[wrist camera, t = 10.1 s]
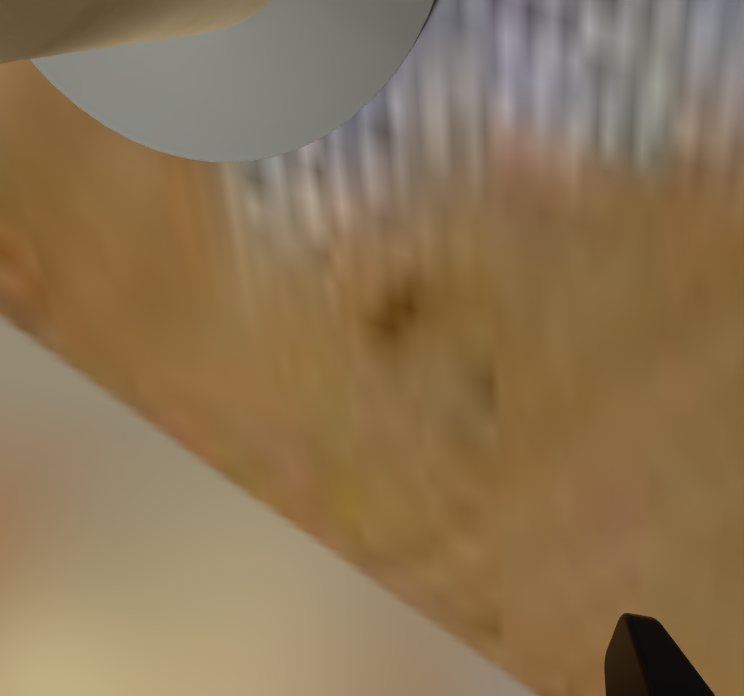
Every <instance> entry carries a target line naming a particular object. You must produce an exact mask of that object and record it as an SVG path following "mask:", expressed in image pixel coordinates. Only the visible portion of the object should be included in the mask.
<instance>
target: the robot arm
mask: <svg viewBox="0 0 744 696" xmlns="http://www.w3.org/2000/svg"><path fill="white" fill-rule="evenodd" d="M604 671H605V689H606V696H715V695H714V693H713V692H712V691H711V689H710V688H709V687H708V685H707V684H706V683H705V681H704V680H703V679H702V678H701V676H700V675H699V674H698V672H697V671H696V670H695V668H694V667H693V666H692V664H691V663H690V662H689V660H688V659H687V658H686V656H685V655H684V654H683V652H682V651H681V650H680V648H679V647H678V646H677V644H676V643H675V642H674V640H673V639H672V638H671V636H670V635H669V634H668V632H667V631H666V630H665V628H664V627H663V626H662V625H661V623H660V622H659V621H657V620H656V619H654V618H652V617H648V616H642V615H637V614H631V613H625V614H623V615H622V616H621V617H620V618H619V620H618V623H617V625H616V628H615V631H614V633H613V636H612V638H611V641H610V644H609V646H608V649H607V652H606V656H605V666H604Z"/></svg>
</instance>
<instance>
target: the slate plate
mask: <svg viewBox="0 0 744 696" xmlns="http://www.w3.org/2000/svg"><path fill="white" fill-rule="evenodd" d="M434 1H435V0H271V1H270V2H269V3H268V4H267V5H266V6H265V7H264V8H263V9H261V10H260V11H259V12H257V13H256V14H255V15H253V16H252V17H251V18H249V19H247V20H245V21H243V22H242V23H240V24H238V25H235V26H232V27H229V28H226V29H223V30H218V31H214V32H208V33H203V34H197V35H190V36H184V37H177V38H170V39H163V40H157V41H150V42H143V43H136V44H130V45H123V46H116V47H109V48H103V49H96V50H89V51H82V52H76V53H69V54H62V55H55V56H49V57H42V58H35V59H30V61H31V62H32V63H33V64H34V65H35V66H36V67H37V68H38V69H39V70H40V71H41V73H42V74H43V75H44V76H45V77H46V78H47V79H48V80H49V81H50V82H51V83H52V84H53V85H54V86H55V87H56V88H57V89H58V90H59V91H60V92H62V93H63V94H64V95H65V96H66V97H67V98H68V99H70V100H71V101H72V102H73V103H74V104H75V105H76V106H78V107H79V108H80V109H82V110H83V111H84V112H86V113H87V114H89V115H90V116H92V117H93V118H94V119H96V120H97V121H99V122H100V123H102V124H103V125H104V126H106V127H108V128H110V129H112V130H113V131H115V132H117V133H119V134H121V135H123V136H124V137H126V138H128V139H130V140H132V141H134V142H137V143H139V144H142V145H144V146H147V147H149V148H152V149H154V150H157V151H159V152H163V153H167V154H171V155H174V156H178V157H182V158H186V159H193V160H201V161H208V162H246V161H252V160H259V159H265V158H271V157H274V156H277V155H281V154H284V153H287V152H291V151H294V150H297V149H299V148H301V147H303V146H305V145H308V144H310V143H312V142H314V141H316V140H318V139H320V138H322V137H324V136H326V135H327V134H329V133H330V132H332V131H333V130H335V129H336V128H338V127H339V126H341V125H342V124H344V123H345V122H347V121H348V120H349V119H350V118H352V117H353V116H354V115H355V114H356V113H357V112H358V111H360V110H361V109H362V108H363V107H364V106H365V105H366V104H367V103H369V102H370V101H371V100H372V99H373V98H374V97H375V96H376V95H377V93H378V92H379V91H380V90H381V89H382V88H383V87H384V85H385V84H386V83H387V82H388V81H389V80H390V79H391V77H392V76H393V75H394V74H395V73H396V71H397V70H398V68H399V67H400V65H401V64H402V62H403V61H404V59H405V58H406V56H407V55H408V53H409V52H410V50H411V49H412V47H413V46H414V44H415V42H416V40H417V38H418V36H419V34H420V32H421V30H422V28H423V26H424V24H425V22H426V20H427V18H428V16H429V14H430V12H431V9H432V7H433V4H434Z"/></svg>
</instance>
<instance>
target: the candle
mask: <svg viewBox="0 0 744 696" xmlns="http://www.w3.org/2000/svg"><path fill="white" fill-rule="evenodd" d="M270 1H271V0H0V64H1V63H8V62H15V61H21V60H28V59H35V58H42V57H49V56H55V55H62V54H69V53H76V52H82V51H89V50H96V49H103V48H109V47H116V46H123V45H130V44H136V43H143V42H150V41H157V40H163V39H170V38H177V37H184V36H190V35H197V34H203V33H208V32H214V31H218V30H223V29H226V28H229V27H232V26H235V25H238V24H240V23H242V22H243V21H245V20H247V19H249V18H251V17H252V16H253V15H255V14H256V13H257V12H259V11H260V10H261V9H263V8H264V7H265V6H266V5H267V4H268V3H269V2H270Z"/></svg>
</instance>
